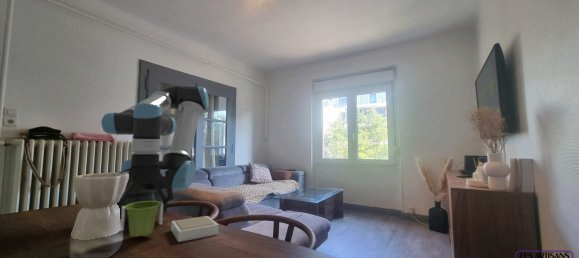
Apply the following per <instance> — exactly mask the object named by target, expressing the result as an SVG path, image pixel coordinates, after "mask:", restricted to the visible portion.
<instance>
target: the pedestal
mask: <svg viewBox="0 0 579 258" xmlns="http://www.w3.org/2000/svg"><path fill="white" fill-rule="evenodd" d="M219 227H220V226H219V223H218V222H216V221H215V220H214V219H213V218H211V217H210V216H208V215H204V216H198V217H191V218H184V219H177V220H172V221H171V227H170V228H171V229H170V230H171V233H172V234H173V236H174V237H175V239H176V241H177V243H180V242H185V241H186V242H187V241H190V240H197V239H200V238H201V239H202V238H205V237H211V236H215V235H219Z"/></svg>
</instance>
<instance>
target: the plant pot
mask: <svg viewBox="0 0 579 258" xmlns="http://www.w3.org/2000/svg"><path fill="white" fill-rule="evenodd" d="M160 202H161V201H157V200H155V201H142V202H135V203H131V204H128V205H126V206H125V209H126V212H127V214H128V222H127V224H128V233H129V236H130V237H133V238H134V237H135V238H137V237H139V236H140V237H141V236H145V237H146V236H147V235H150V234H152V233H153V232H154V227H155V223H156V217H157V216H156V213H157V214H158V211H159V205H160ZM157 210H158V211H157Z"/></svg>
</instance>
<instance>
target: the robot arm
mask: <svg viewBox="0 0 579 258" xmlns="http://www.w3.org/2000/svg"><path fill="white" fill-rule="evenodd" d="M208 93H209V92H208V91H207V89H206V88H205V87H203V86H188V85H187V86H185V85H184V86H183V85H172V86H166V87H164V88H160V89H158V90H155V91H154V92H152V93H151V95H150V96H149V97H147V98H146V99H144V100H141V101H140V102H138V103H136V104H134V105H132V106H131V107H129V108H126V109H124V110H123V111H121V112H108V113H106V114H105V113H104V115H103V116H102V118H101V123H100V124H101V128H102V130H103V132H105V133H106V134H107V135H117V136H119V135H121V136H122V135H125V136H126V135H128V136H129V135H132V140H131V141H132V142H131V152H132V154H131V155H130V156H131V157H130V158H131V159H128V160H124V161H123V162H122V163H121V168H120V171H118V172H117V174H118V173H122V174H123V173H128V174H129V180H128V183H127V187H126V190H125V192H124V194H123V196H122V198H121V199H120V201H119V202H118V201H117V202H118V203H117V205H118V206H119V208H120V219H121V223H120V228H121V227H122V231H121V232H123V231H125V223H128V214H127V212H126V209H125V206H126V205H128V204H131V203H135V202H142V201H156V199H155V196H154V194H155V193H154V192H155V191H156V192H157V194H158V196H159V197H160V199H161V201H159V202H160V205H159V207H158V210H157V213H156V217H157V216H158V225H163V218H164V214H165V213H167V211H168V210H167V209H168V202H170V201H173V200H174V193H173V191H174V192H175V191H182V190H187V189H189V188H190V187H191V186H192V184H193V182H194V179H195V175H196V164H195V162H194V161H193V158H192V156H191V153H192V149H193V144H194V139H195V135H196V131H197V126H198V124H199V123H198V122H199V120H200V119H199V118H200V116H202V115H203V114H204V111H207V110H209V108H210V106H209V104H210V102H209V101H210V99H209V95H208ZM169 109H174V110H175V109H176V110H179V116H178V119H177V122H176V120H175V119H174V118H173V117H172V116H170V115H168V114H163V112H164V111H167V110H169ZM172 134H173V137H172V140H171V144H170V147H169V150H168V152H166V153H165V154H164V155H162V159H161V160H160V154H159V152H160V150H161V148H160V147H161V137H163V136H164V137H166V136H170V135H172ZM163 191H166V192H167V193H166V194H167V196H165V193H164V192H163Z"/></svg>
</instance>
